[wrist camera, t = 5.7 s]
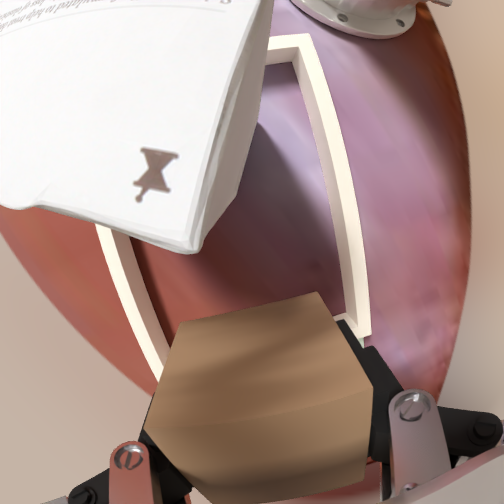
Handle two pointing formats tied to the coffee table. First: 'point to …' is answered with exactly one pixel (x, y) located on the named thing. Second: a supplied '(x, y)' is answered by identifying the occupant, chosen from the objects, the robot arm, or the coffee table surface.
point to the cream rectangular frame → (339, 198)
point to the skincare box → (130, 110)
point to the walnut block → (263, 404)
